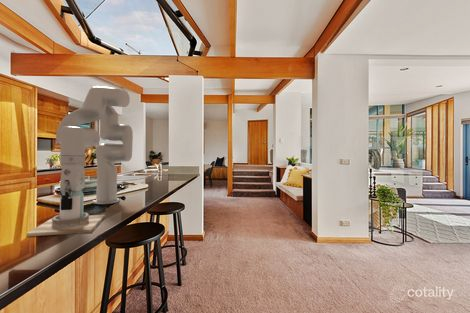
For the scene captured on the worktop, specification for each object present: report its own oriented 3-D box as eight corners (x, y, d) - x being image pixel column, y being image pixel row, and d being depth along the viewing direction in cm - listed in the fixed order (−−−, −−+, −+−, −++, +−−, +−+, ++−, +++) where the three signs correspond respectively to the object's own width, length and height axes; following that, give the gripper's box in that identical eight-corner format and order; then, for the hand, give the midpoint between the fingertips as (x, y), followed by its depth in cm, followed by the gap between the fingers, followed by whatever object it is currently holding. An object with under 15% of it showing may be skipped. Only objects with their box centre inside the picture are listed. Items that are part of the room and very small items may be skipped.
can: (54, 224, 79) (55, 191, 79) (69, 218, 86) (70, 188, 86) (73, 225, 79) (74, 192, 79) (87, 219, 86) (88, 188, 86)
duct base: (53, 219, 88) (53, 210, 88) (104, 217, 94) (104, 209, 93) (26, 236, 71) (26, 225, 71) (91, 232, 76) (91, 222, 76)
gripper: (75, 162, 75) (74, 212, 75) (92, 159, 91) (91, 200, 92) (49, 161, 73) (48, 213, 73) (70, 158, 89) (69, 201, 90)
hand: (72, 206), depth 83 cm, fingers open, 9 cm apart
